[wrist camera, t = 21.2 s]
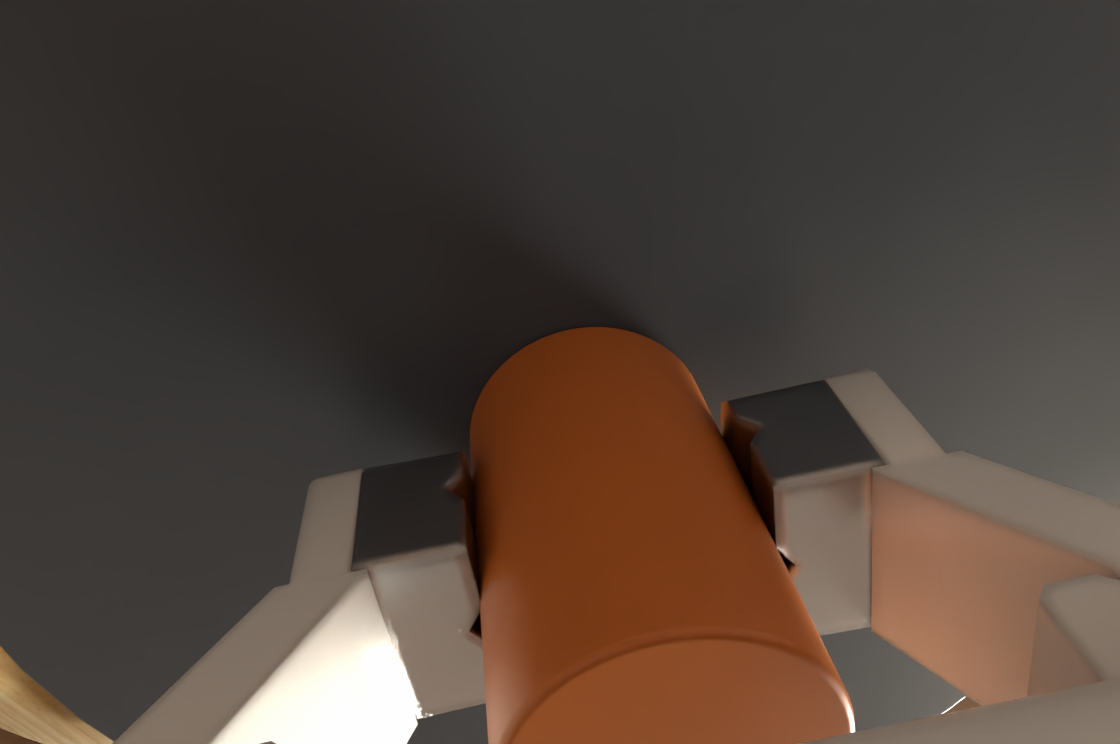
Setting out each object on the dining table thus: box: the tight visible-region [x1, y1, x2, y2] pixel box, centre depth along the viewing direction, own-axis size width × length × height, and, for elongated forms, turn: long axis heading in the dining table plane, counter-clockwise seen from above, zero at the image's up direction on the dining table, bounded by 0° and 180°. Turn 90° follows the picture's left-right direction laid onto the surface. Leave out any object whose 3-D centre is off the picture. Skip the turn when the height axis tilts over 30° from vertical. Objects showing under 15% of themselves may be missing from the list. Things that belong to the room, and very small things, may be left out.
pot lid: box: [0, 0, 1120, 744], centre depth 9 cm, size 15×15×6 cm
